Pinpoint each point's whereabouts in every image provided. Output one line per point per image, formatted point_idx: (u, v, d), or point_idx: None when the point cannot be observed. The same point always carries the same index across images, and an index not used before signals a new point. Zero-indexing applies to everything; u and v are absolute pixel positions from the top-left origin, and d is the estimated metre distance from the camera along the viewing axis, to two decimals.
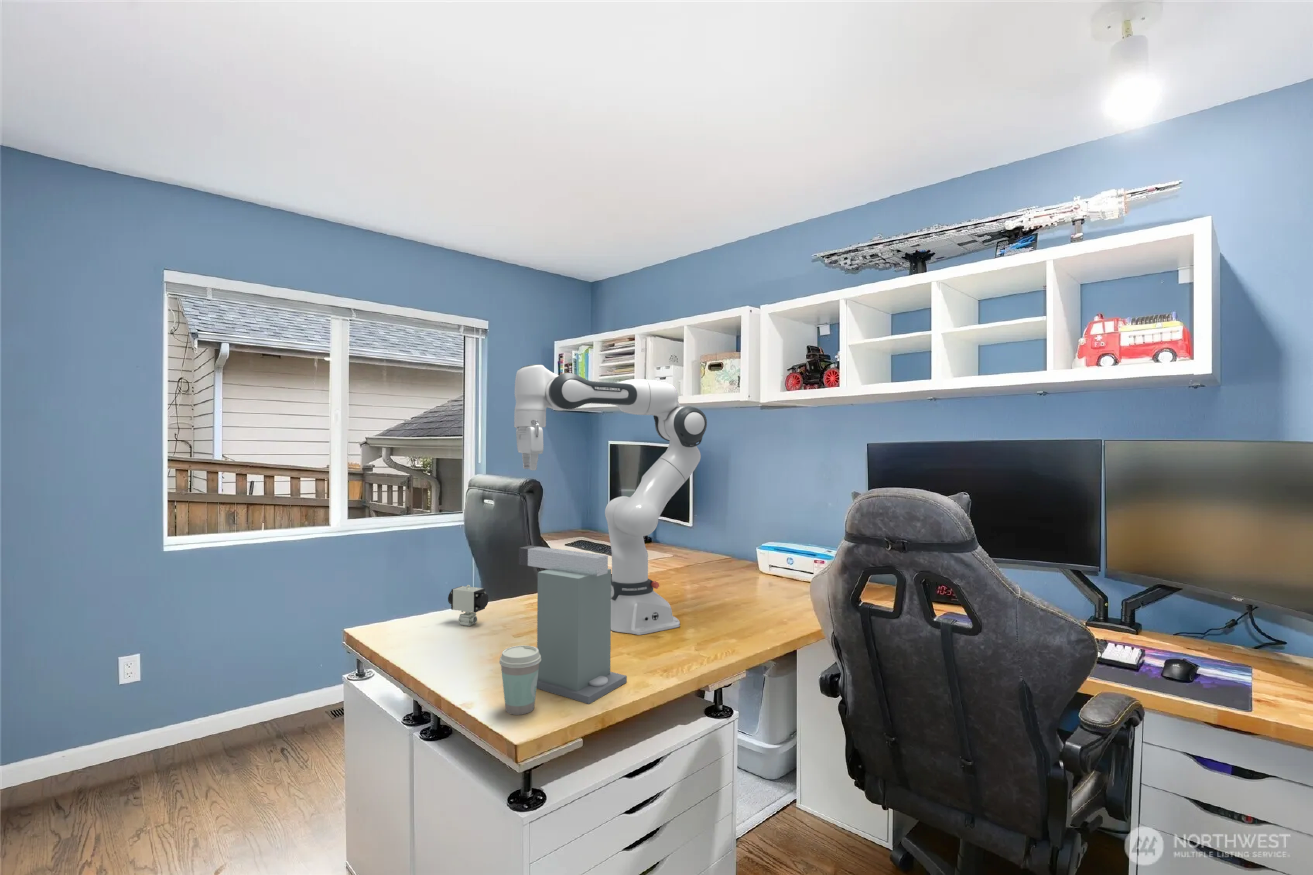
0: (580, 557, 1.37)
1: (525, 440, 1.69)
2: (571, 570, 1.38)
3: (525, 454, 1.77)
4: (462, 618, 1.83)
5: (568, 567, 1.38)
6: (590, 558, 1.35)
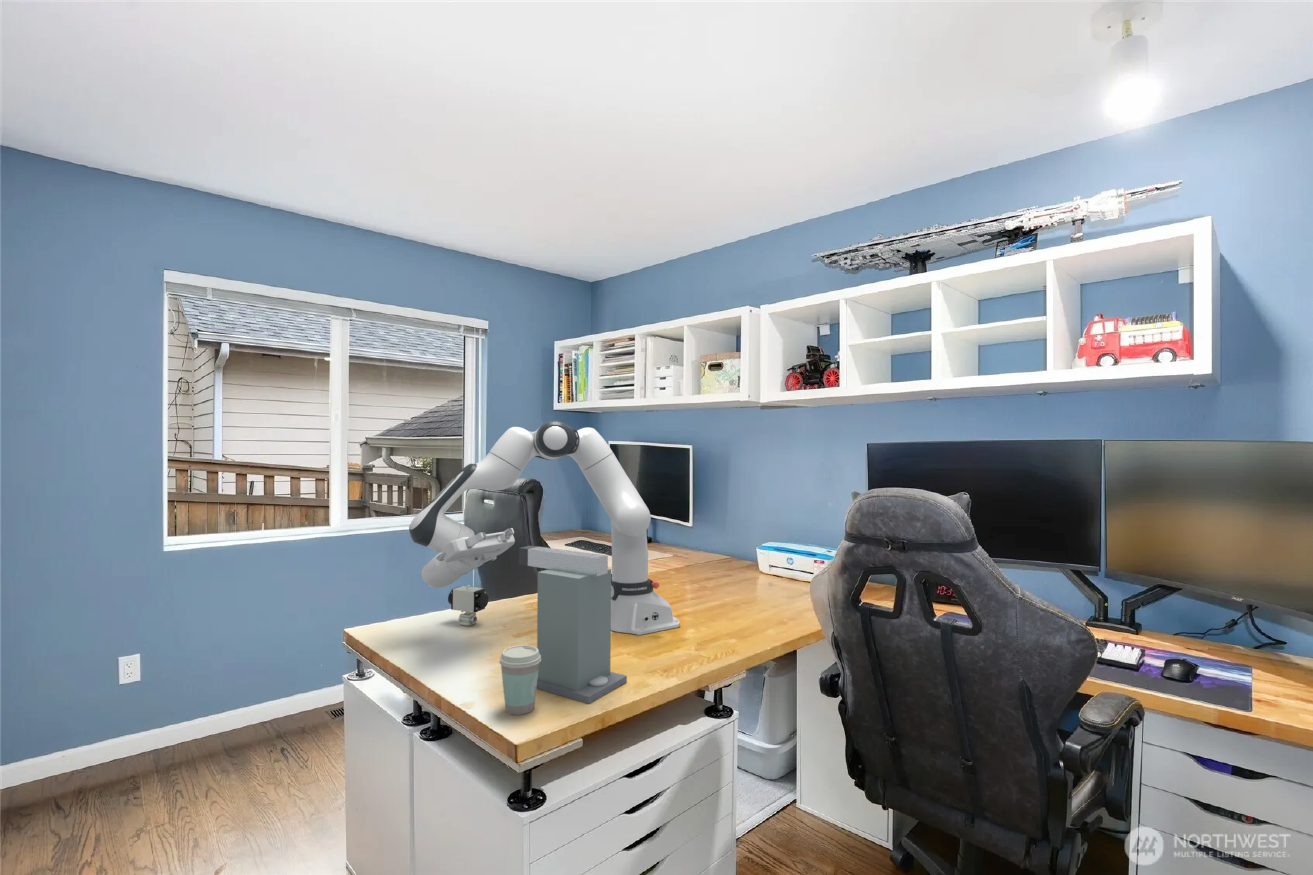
0: (580, 557, 1.37)
1: (472, 553, 1.55)
2: (571, 570, 1.38)
3: (503, 538, 1.60)
4: (462, 618, 1.83)
5: (568, 567, 1.38)
6: (590, 558, 1.35)
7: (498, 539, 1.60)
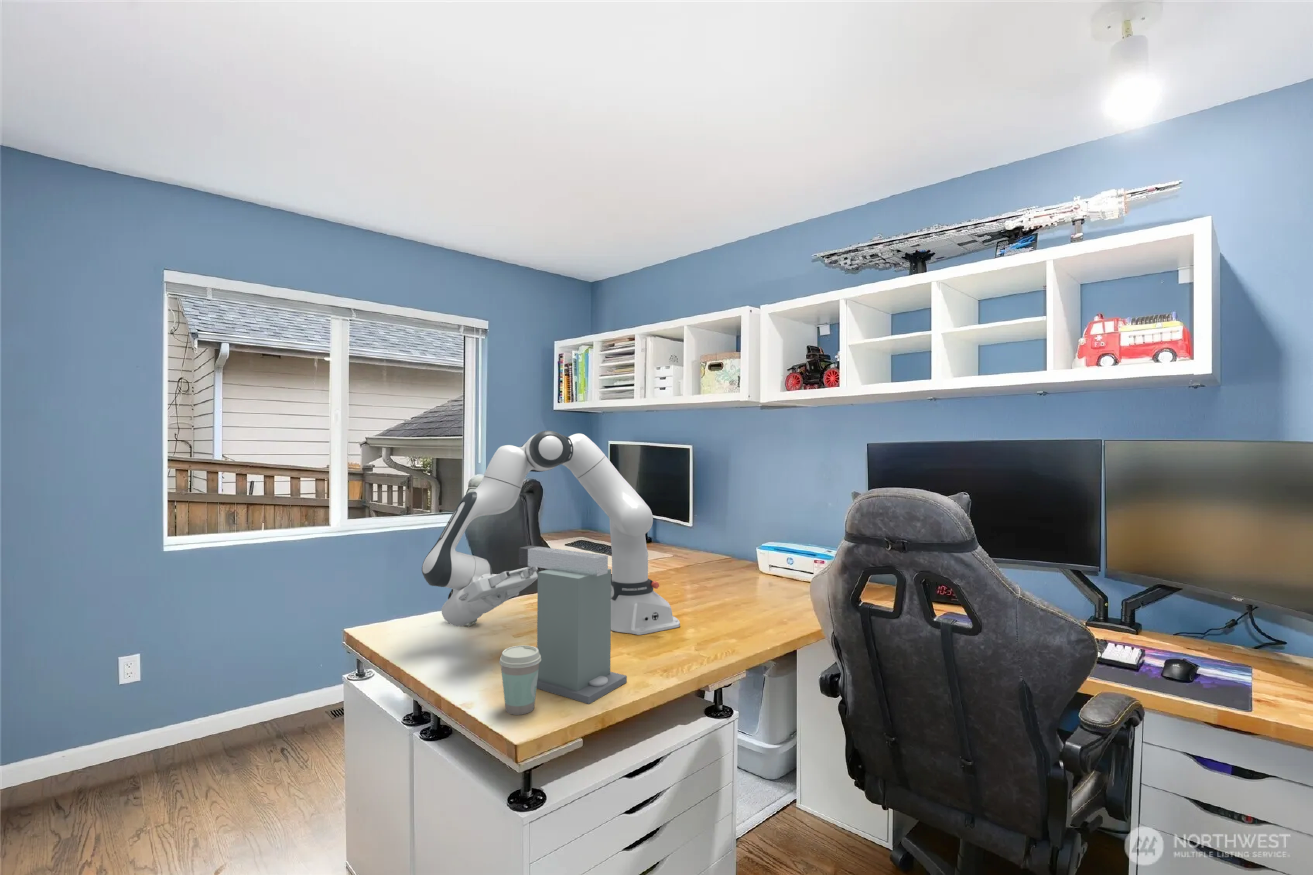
0: (580, 557, 1.37)
1: (495, 592, 1.50)
2: (571, 570, 1.38)
3: (526, 574, 1.55)
4: None
5: (568, 567, 1.38)
6: (590, 558, 1.35)
7: (521, 576, 1.55)
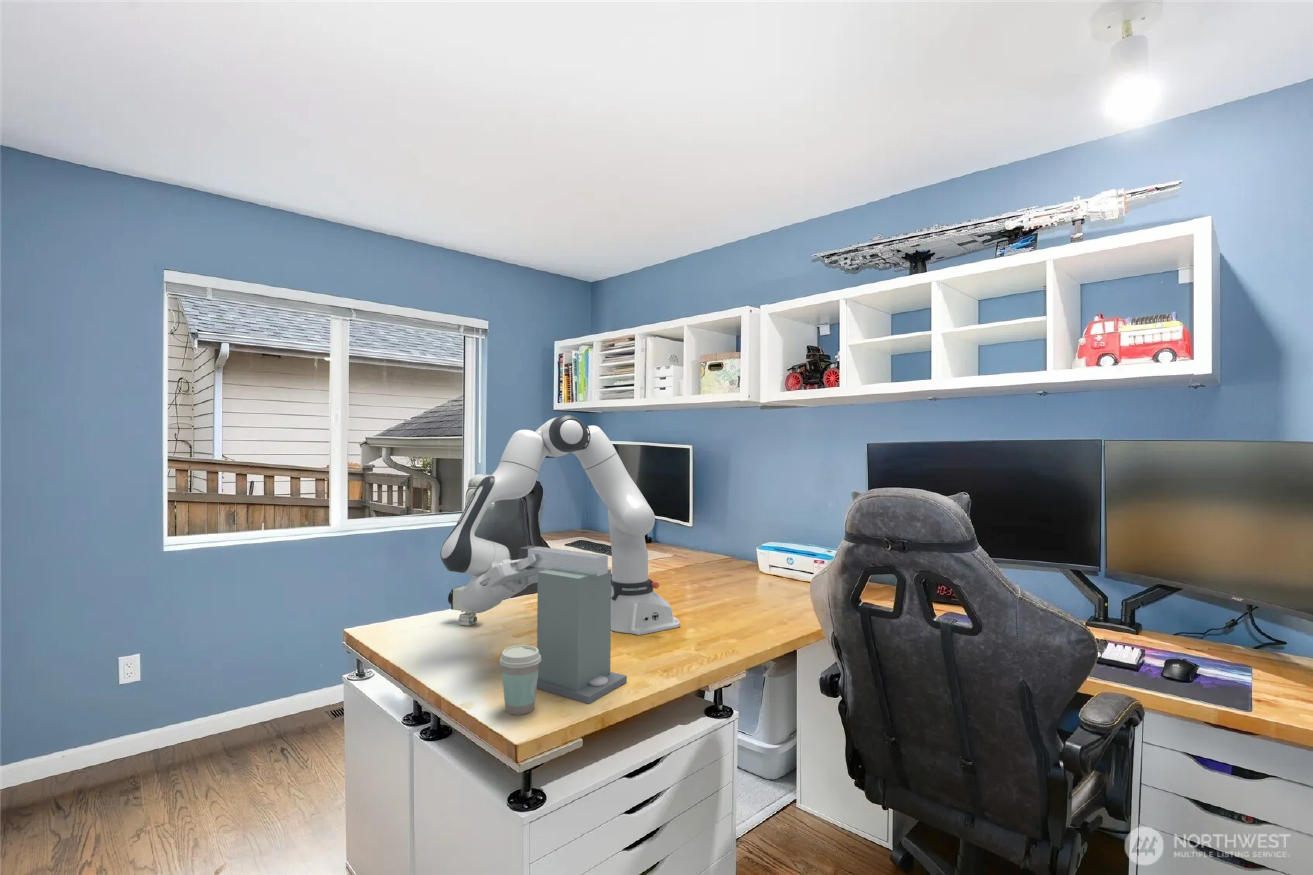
0: (580, 557, 1.37)
1: (517, 577, 1.46)
2: (571, 570, 1.38)
3: None
4: (462, 618, 1.83)
5: (568, 567, 1.38)
6: (590, 558, 1.35)
7: None
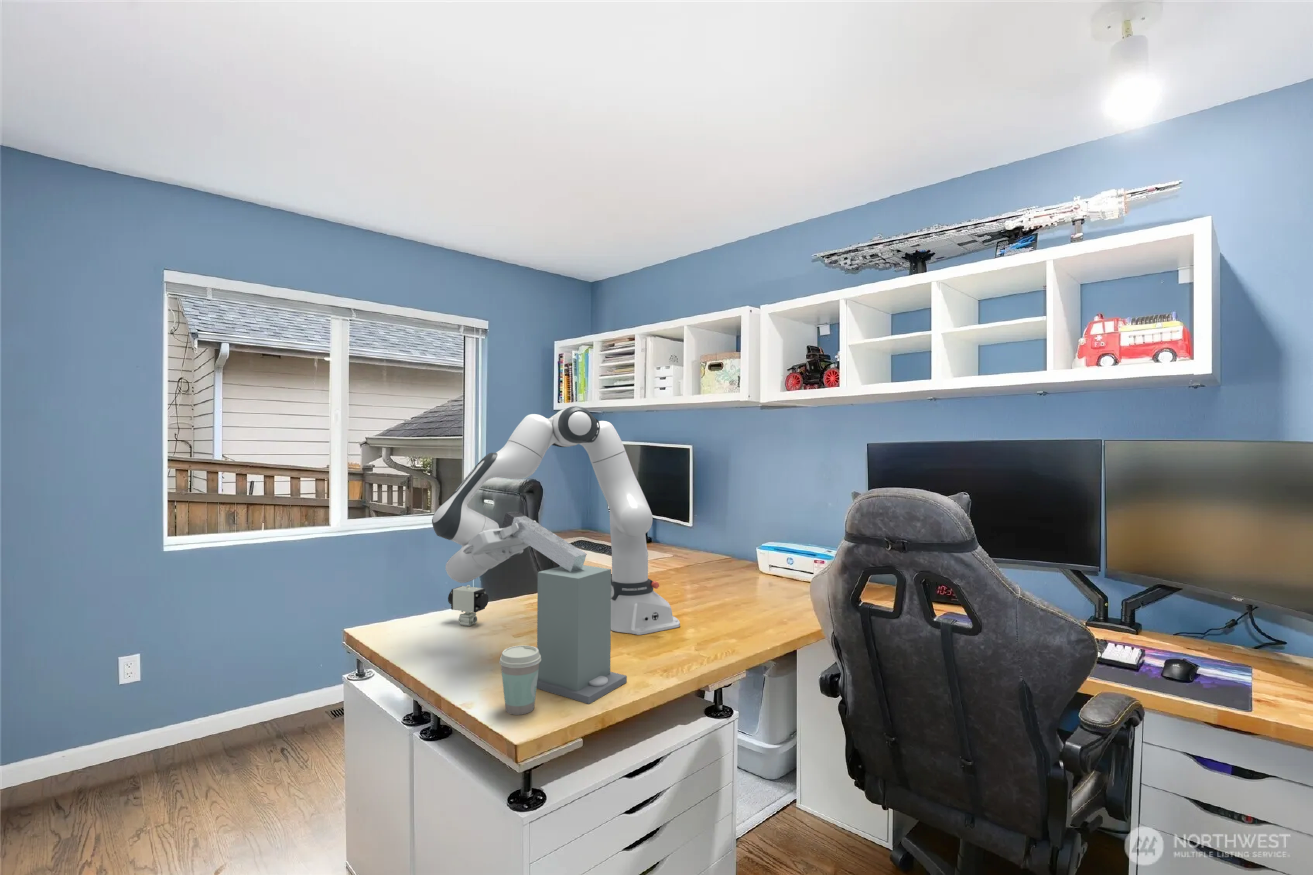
0: (560, 548, 1.40)
1: (500, 546, 1.49)
2: (548, 556, 1.42)
3: None
4: (462, 618, 1.83)
5: (546, 552, 1.42)
6: (569, 553, 1.38)
7: None
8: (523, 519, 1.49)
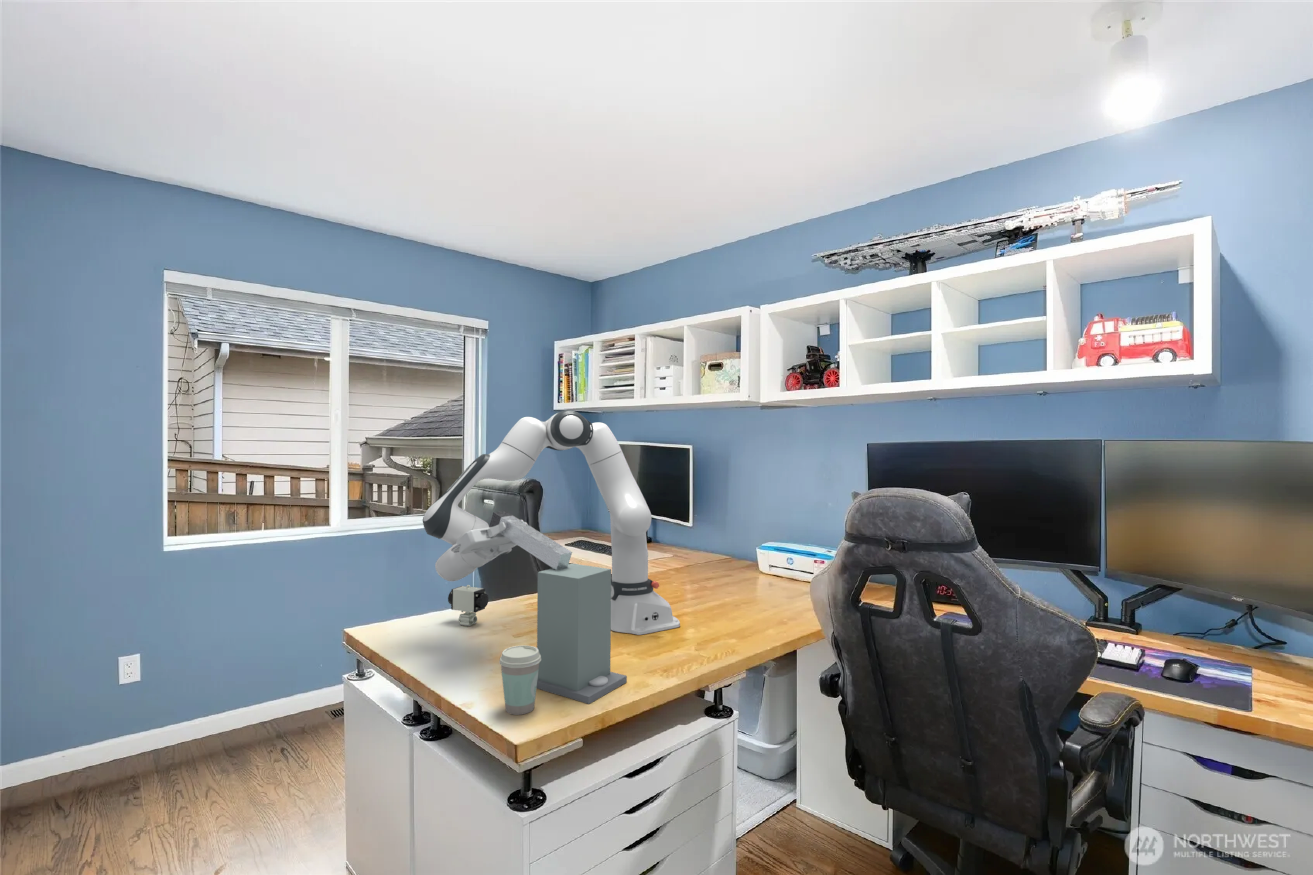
0: (546, 546, 1.42)
1: (488, 545, 1.52)
2: (535, 554, 1.44)
3: None
4: (462, 618, 1.83)
5: (533, 550, 1.44)
6: (555, 552, 1.41)
7: None
8: (510, 518, 1.51)
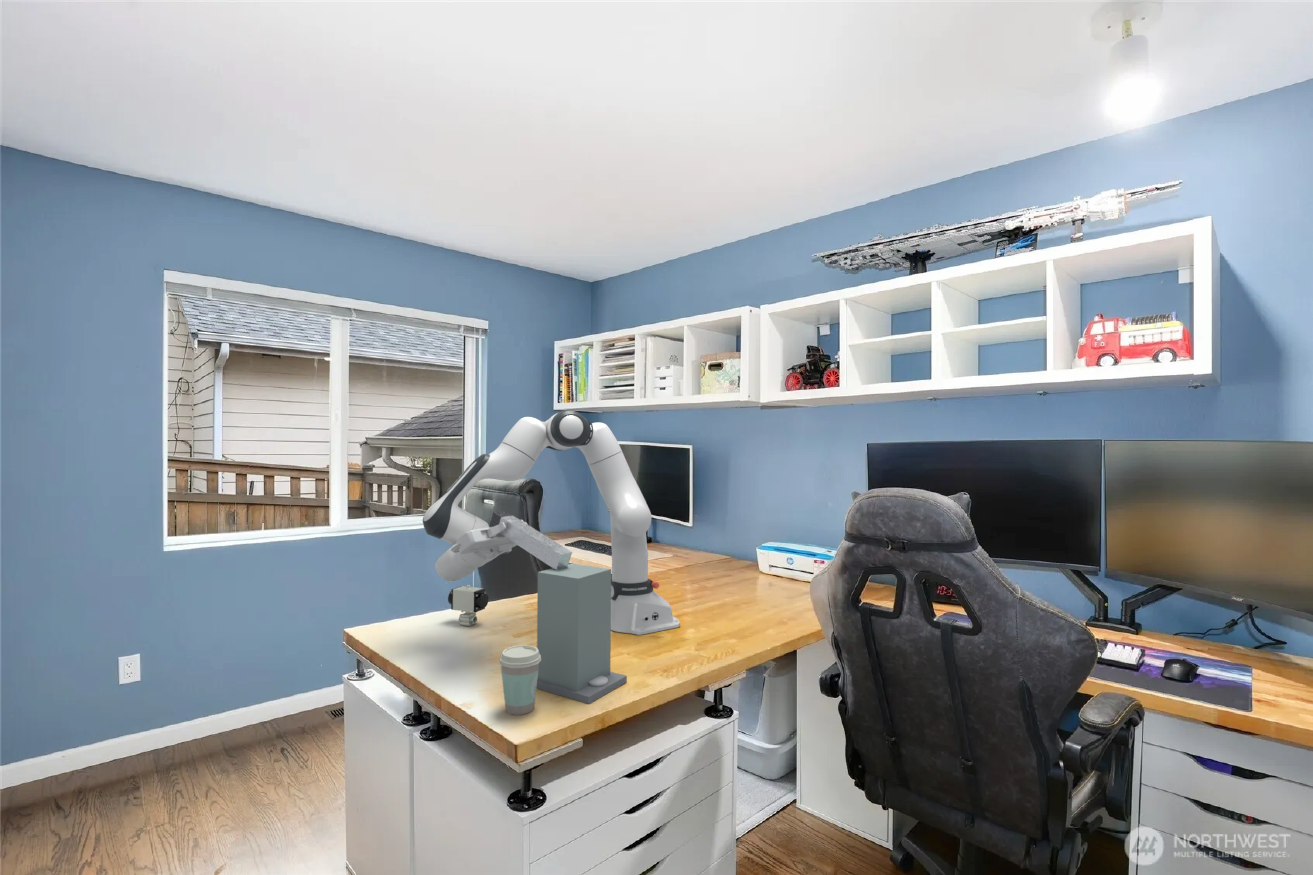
0: (546, 546, 1.42)
1: (488, 545, 1.52)
2: (535, 554, 1.44)
3: None
4: (462, 618, 1.83)
5: (533, 550, 1.44)
6: (555, 552, 1.41)
7: None
8: (510, 518, 1.51)
